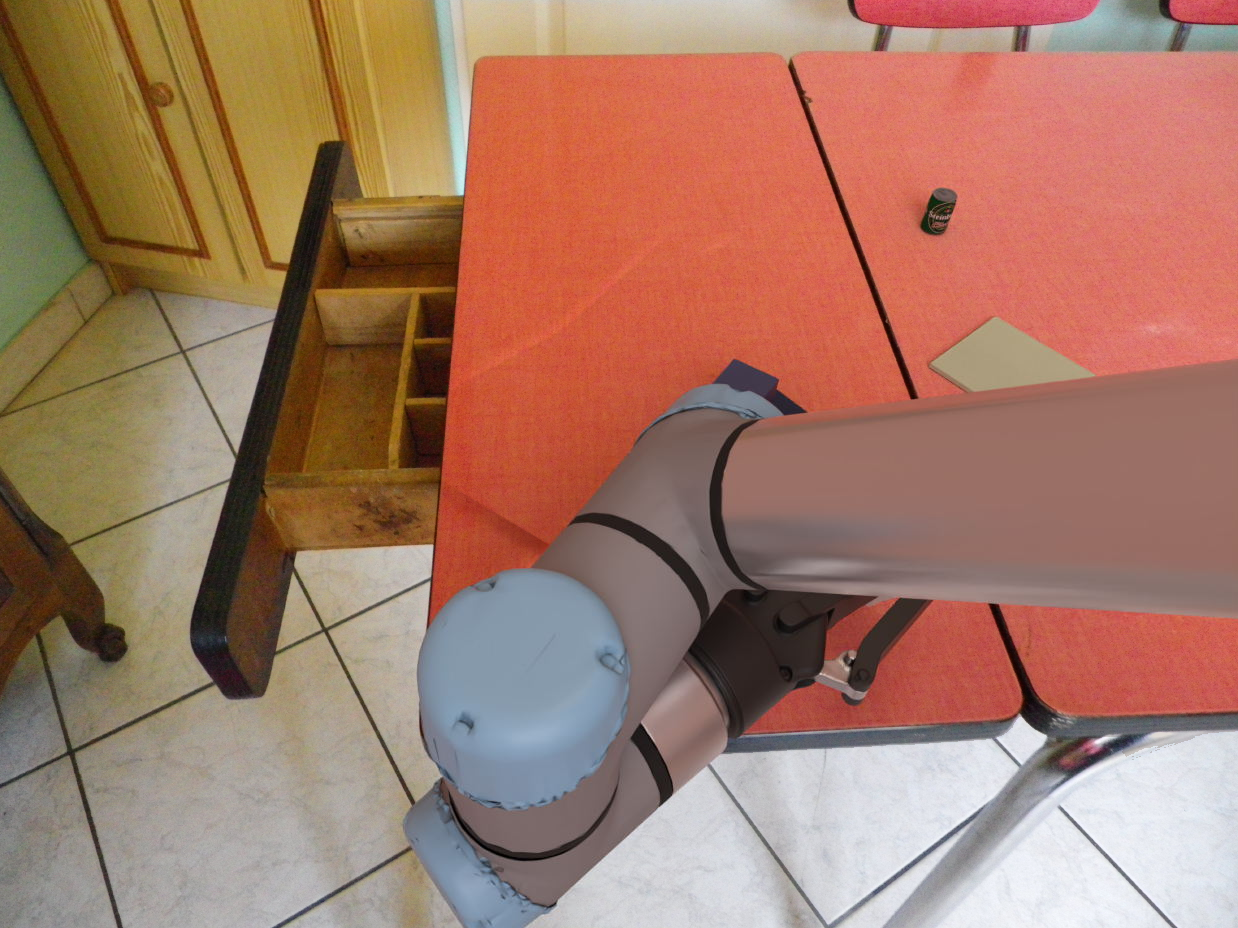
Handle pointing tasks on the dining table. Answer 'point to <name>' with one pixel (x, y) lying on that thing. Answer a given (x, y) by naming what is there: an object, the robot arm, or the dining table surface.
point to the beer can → (939, 211)
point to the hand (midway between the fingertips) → (944, 471)
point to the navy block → (748, 380)
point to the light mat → (1003, 360)
